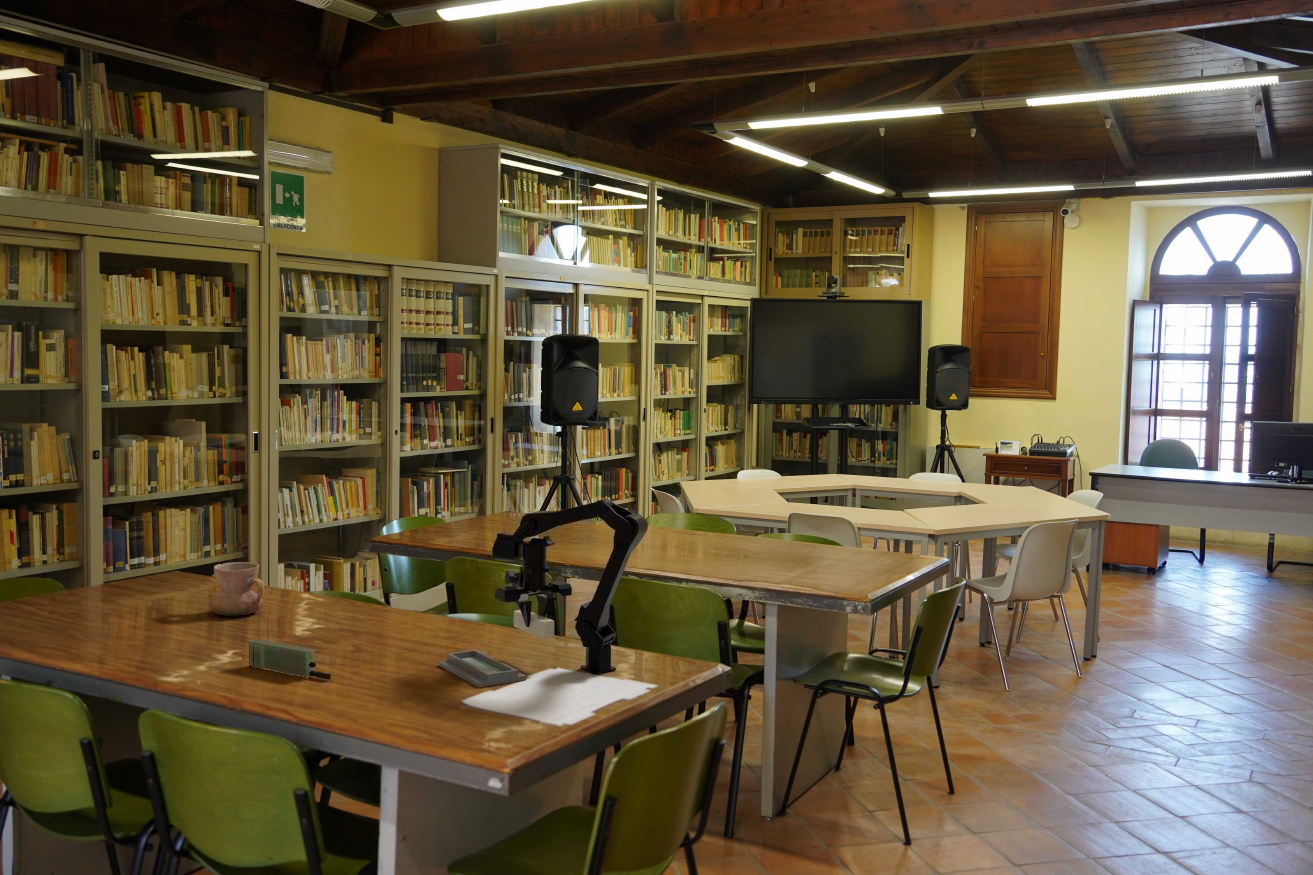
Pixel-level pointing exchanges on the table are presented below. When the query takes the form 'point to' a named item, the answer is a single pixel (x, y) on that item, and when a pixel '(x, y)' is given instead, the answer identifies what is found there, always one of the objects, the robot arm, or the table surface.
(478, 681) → the grey rectangular tray
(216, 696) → the table surface
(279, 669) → the handheld radio
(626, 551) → the robot arm
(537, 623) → the white long block
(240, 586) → the pink mug
